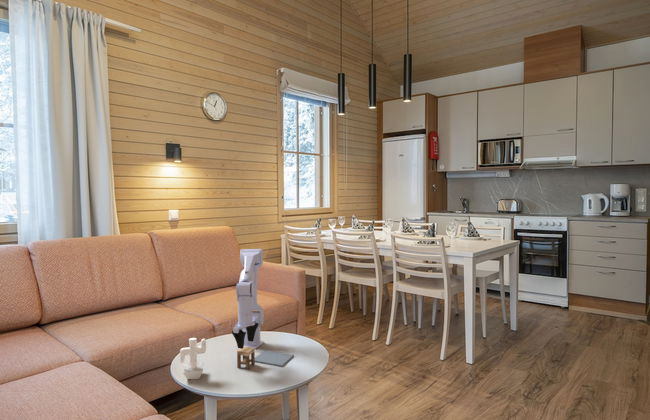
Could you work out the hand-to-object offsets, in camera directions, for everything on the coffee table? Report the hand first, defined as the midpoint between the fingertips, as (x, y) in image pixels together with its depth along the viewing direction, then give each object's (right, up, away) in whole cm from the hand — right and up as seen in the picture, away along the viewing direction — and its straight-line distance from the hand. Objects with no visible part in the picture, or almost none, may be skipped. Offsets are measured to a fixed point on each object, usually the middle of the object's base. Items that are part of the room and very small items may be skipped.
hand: (245, 344), depth 169 cm
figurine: (-18, -10, -8) cm, 22 cm away
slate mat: (+10, -8, +7) cm, 15 cm away
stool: (0, -9, +1) cm, 9 cm away
